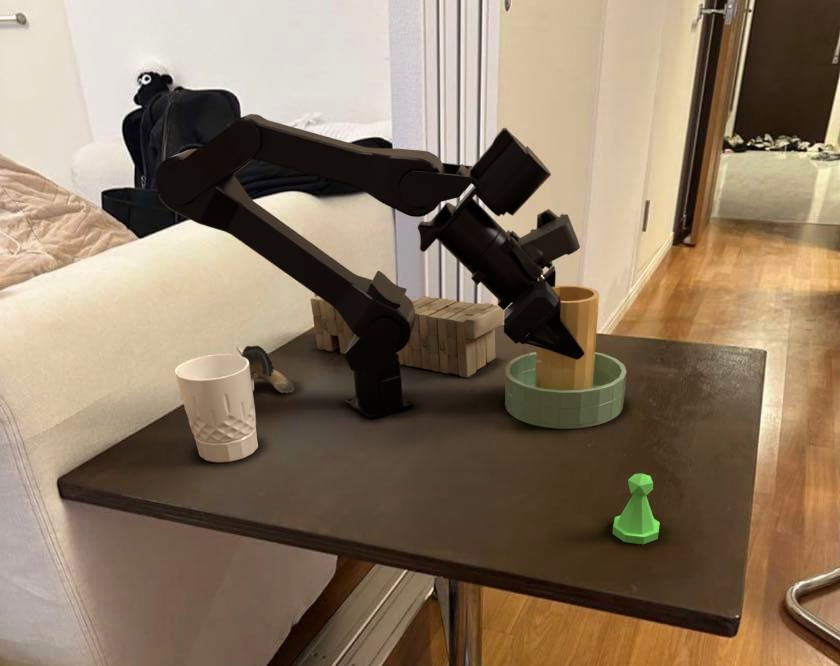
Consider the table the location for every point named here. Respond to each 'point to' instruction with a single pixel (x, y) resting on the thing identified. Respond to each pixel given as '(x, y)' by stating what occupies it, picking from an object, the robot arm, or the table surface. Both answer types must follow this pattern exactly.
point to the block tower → (427, 334)
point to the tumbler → (582, 323)
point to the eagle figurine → (265, 369)
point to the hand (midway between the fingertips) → (578, 342)
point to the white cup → (219, 405)
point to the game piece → (637, 514)
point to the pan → (565, 395)
